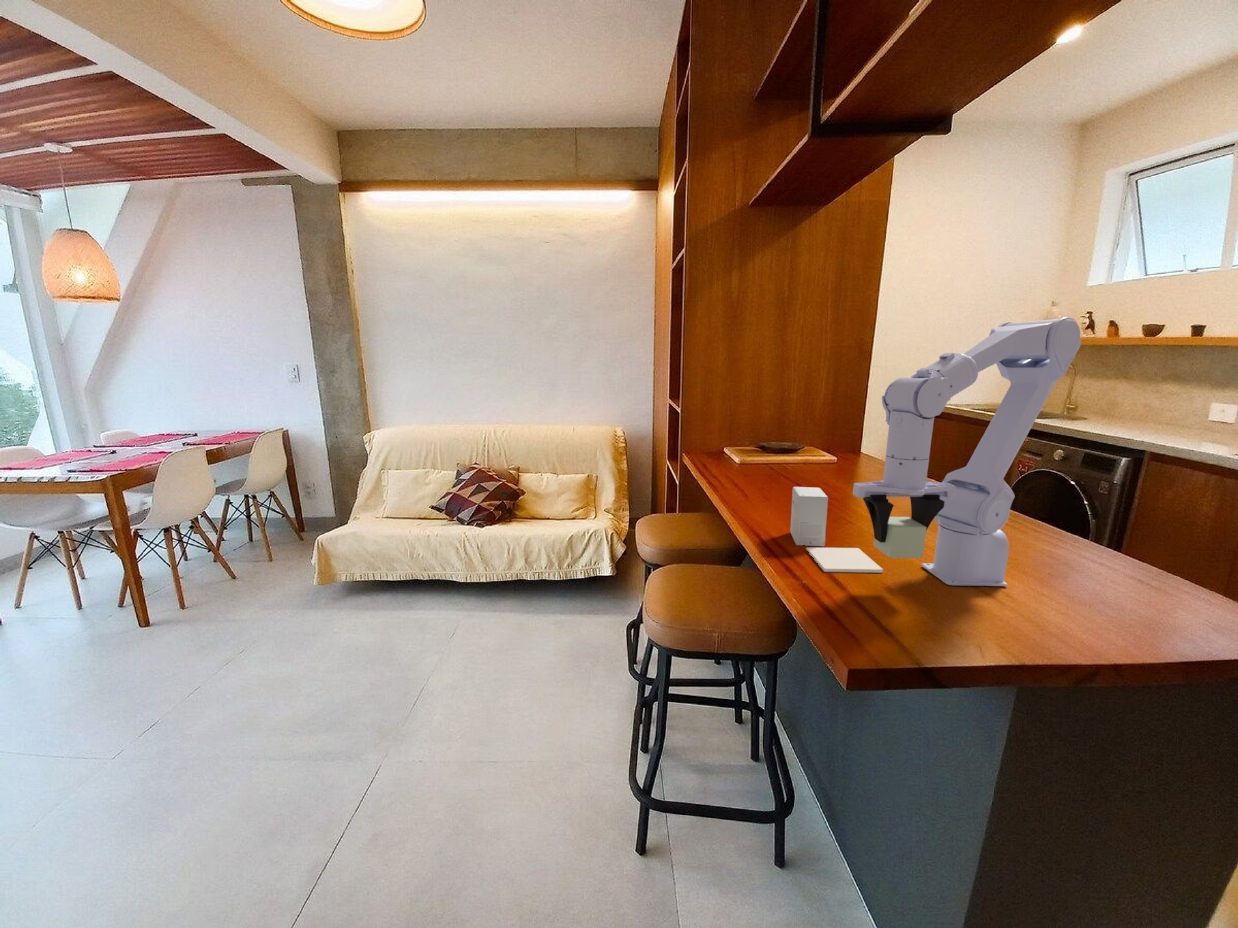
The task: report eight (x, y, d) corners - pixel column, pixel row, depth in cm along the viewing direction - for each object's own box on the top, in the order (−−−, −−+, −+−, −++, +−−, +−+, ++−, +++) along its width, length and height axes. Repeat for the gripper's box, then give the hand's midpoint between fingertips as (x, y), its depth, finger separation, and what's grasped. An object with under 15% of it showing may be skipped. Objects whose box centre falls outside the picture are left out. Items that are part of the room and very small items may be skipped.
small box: (824, 547, 95) (828, 497, 92) (795, 545, 96) (798, 495, 94) (816, 533, 102) (820, 487, 100) (789, 532, 103) (792, 486, 101)
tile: (858, 550, 93) (858, 547, 93) (882, 572, 83) (883, 569, 83) (806, 550, 93) (806, 547, 93) (824, 571, 84) (824, 568, 83)
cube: (904, 545, 78) (908, 516, 77) (922, 557, 73) (926, 527, 72) (873, 545, 78) (876, 516, 77) (889, 557, 73) (893, 527, 72)
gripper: (871, 462, 69) (862, 549, 72) (973, 461, 68) (961, 549, 71) (850, 453, 76) (843, 533, 78) (942, 452, 75) (932, 533, 78)
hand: (897, 540), depth 75 cm, fingers closed on cube, 5 cm apart
